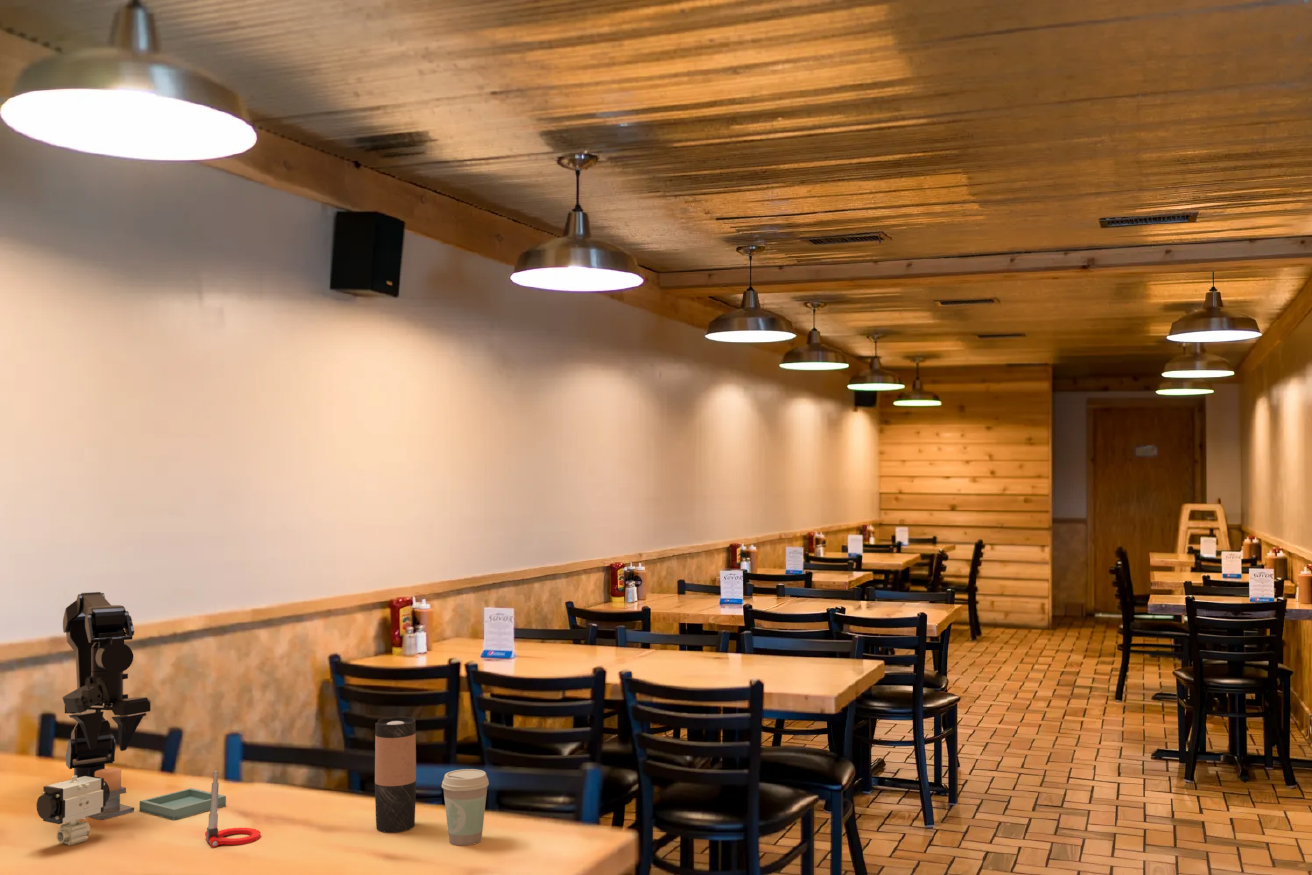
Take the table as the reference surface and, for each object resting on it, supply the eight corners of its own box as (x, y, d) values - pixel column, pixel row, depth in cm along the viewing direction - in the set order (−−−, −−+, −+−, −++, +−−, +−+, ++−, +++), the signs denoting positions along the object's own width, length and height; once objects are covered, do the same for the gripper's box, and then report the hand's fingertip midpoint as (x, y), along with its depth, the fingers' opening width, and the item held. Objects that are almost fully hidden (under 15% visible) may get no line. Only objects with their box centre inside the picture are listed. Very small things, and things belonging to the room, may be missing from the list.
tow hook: (255, 831, 217) (203, 837, 212) (259, 762, 218) (207, 766, 213) (264, 843, 210) (211, 849, 205) (268, 772, 210) (215, 776, 206)
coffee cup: (436, 837, 211) (436, 771, 211) (482, 831, 214) (482, 766, 215) (447, 850, 203) (447, 782, 204) (494, 844, 206) (494, 776, 207)
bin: (139, 811, 230) (139, 800, 230) (191, 797, 239) (191, 787, 239) (174, 819, 223) (174, 809, 223) (225, 805, 233) (225, 795, 233)
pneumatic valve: (35, 849, 206) (36, 781, 206) (93, 831, 216) (94, 767, 216) (54, 853, 203) (55, 785, 204) (113, 835, 213) (114, 770, 214)
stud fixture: (80, 814, 227) (81, 795, 228) (114, 806, 233) (114, 787, 233) (100, 820, 223) (100, 800, 224) (134, 811, 229) (134, 792, 229)
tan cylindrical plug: (89, 794, 228) (89, 771, 228) (112, 789, 232) (112, 766, 232) (103, 798, 225) (103, 775, 225) (126, 792, 229) (126, 769, 229)
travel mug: (424, 826, 217) (424, 720, 218) (389, 835, 212) (389, 726, 213) (400, 818, 223) (400, 714, 223) (366, 827, 217) (366, 721, 218)
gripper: (39, 674, 226) (39, 755, 224) (102, 675, 217) (102, 759, 216) (90, 667, 236) (90, 745, 234) (152, 668, 227) (153, 748, 226)
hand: (107, 749), depth 227 cm, fingers open, 9 cm apart
